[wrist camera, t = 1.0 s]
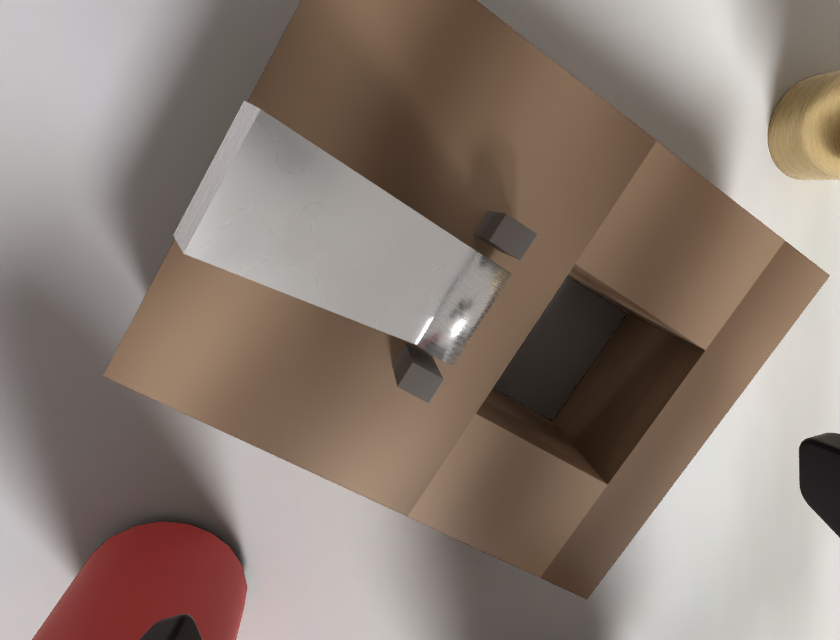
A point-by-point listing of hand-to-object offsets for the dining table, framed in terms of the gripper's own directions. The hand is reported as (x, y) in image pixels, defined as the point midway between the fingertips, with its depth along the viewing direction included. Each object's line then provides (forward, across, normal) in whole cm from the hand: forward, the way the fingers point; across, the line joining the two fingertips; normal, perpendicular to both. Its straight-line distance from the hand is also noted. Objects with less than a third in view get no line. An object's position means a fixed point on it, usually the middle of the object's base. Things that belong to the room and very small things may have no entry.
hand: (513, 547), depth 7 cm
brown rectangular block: (+14, -2, 0) cm, 14 cm away
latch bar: (+7, +1, -4) cm, 8 cm away
